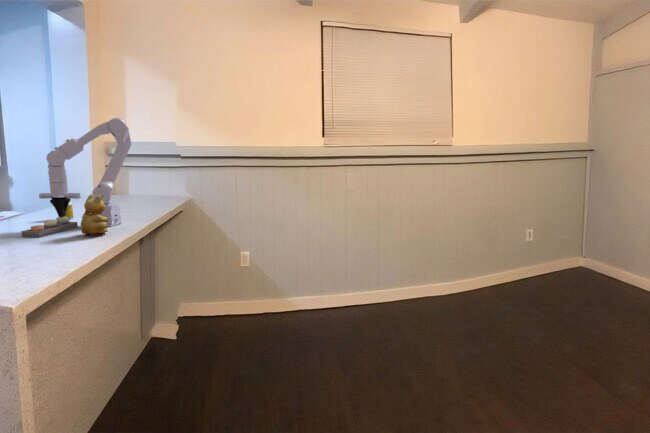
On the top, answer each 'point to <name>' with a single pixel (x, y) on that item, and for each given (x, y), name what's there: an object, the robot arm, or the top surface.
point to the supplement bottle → (69, 211)
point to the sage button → (62, 220)
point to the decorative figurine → (94, 217)
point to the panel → (49, 230)
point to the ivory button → (50, 223)
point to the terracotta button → (37, 228)
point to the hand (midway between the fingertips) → (62, 216)
